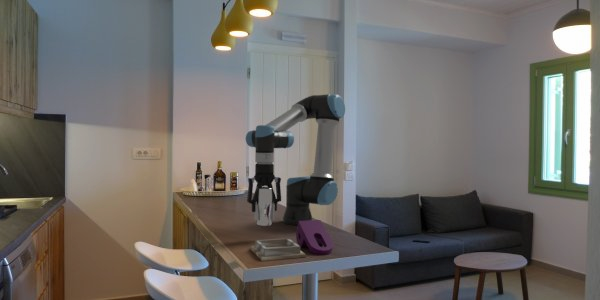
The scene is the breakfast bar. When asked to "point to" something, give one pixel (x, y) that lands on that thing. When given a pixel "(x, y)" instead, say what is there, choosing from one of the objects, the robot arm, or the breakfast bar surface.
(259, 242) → the cup holder
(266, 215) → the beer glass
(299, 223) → the mounting bracket
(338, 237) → the breakfast bar surface
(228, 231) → the breakfast bar surface
